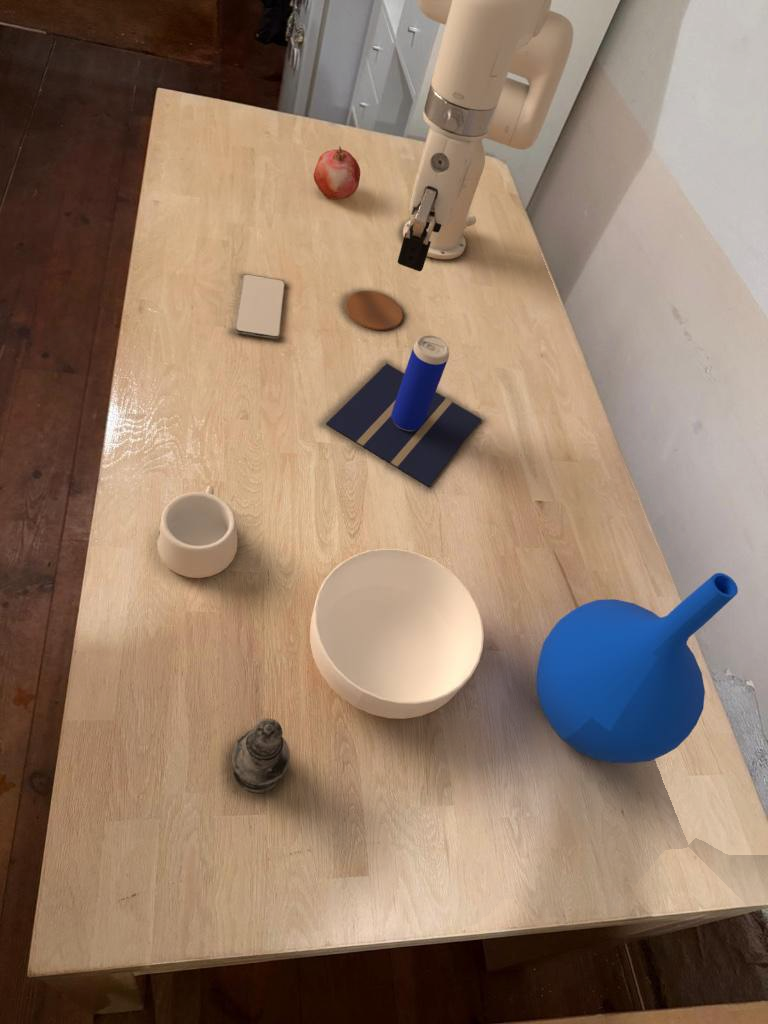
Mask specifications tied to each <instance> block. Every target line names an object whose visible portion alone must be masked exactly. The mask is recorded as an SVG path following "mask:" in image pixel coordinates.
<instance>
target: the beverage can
mask: <svg viewBox="0 0 768 1024" xmlns="http://www.w3.org/2000/svg"><path fill="white" fill-rule="evenodd" d="M449 358H450V349H449V345H448V343H447V342H446V341H445V340H443V339H442V338H441V337H439V336H436V335H432V334H425V335H422V336H420V337H419V338H418V339H417V340H416V341H415V342H414V344H413V346H412V349H411V352H410V356H409V359H408V362H407V364H406V367H405V371H404V377H403V380H402V383H401V386H400V389H399V392H398V395H397V398H396V401H395V404H394V407H393V410H392V413H391V417H392V420H393V422H394V423H395V425H396V426H397V427H398V428H400V429H402V430H405V431H414V430H417V429H419V428H421V427H422V425H423V424H424V421H425V418H426V416H427V413H428V410H429V408H430V405H431V403H432V400H433V397H434V395H435V392H436V393H437V389H438V388H439V384H440V382H441V379H442V377H443V374H444V371H445V368H446V366H447V363H448V361H449Z"/></svg>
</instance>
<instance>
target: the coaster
mask: <svg viewBox="0 0 768 1024" xmlns="http://www.w3.org/2000/svg"><path fill="white" fill-rule="evenodd" d="M345 310H346V312H347V314H348V316H349V317H350V319H351V320H352V321H354V322H355V323H356V324H358V325H360V326H361V327H364V328H365V329H369V330H374V331H389V330H392V329H395V328H397V327H398V326H399V325H400V324H401V322H402V320H403V310H402V308H401V306H400V304H399V303H398V302H397V301H395V299H393V298H392V297H390V296H388V295H387V294H384V293H382V292H379V291H374V290H373V291H372V290H361V291H360V290H359V291H357V292H354V293H352V294H351V295H350V296H349V297H348V298H347V300H346V302H345Z"/></svg>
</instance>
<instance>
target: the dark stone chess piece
mask: <svg viewBox="0 0 768 1024" xmlns="http://www.w3.org/2000/svg"><path fill="white" fill-rule="evenodd" d="M288 745H289V744H288V743H287V741H286V739H285V738H284V737H283V728H282V726H281V724H280V723H279V722H278V721H277V720H276V719H274V718H270V717H266V718H263V719H262V718H261V719H260V720H258V721H257V722H256V723H255V724H254V726H253V728H252V729H250V730H248V731H246V732H244V733H243V734H242V735H240V737H239V738H237V740H236V742H235V743H234V746H233V748H232V752H231V753H232V754H231V762H232V774H233V777H234V779H235V781H236V783H237V784H238V786H240V787H241V788H242V789H244V790H245V791H248V792H250V793H256V794H257V793H258V794H260V793H265V792H267V791H269V790H271V789H272V788H274V787H275V786H276V785H277V784H278V782H279V781H280V780H281V778H282V777H283V775H284V774H285V773H286V772H287V769H288V767H289V764H290V759H291V754H290V747H289V746H288Z"/></svg>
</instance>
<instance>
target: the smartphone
mask: <svg viewBox="0 0 768 1024" xmlns="http://www.w3.org/2000/svg"><path fill="white" fill-rule="evenodd" d="M285 284H286V282H285V281H284V280H282V279H278V278H272V277H267V276H261V275H255V274H249V273H245V274H243V277H242V283H241V289H240V296H239V303H238V309H237V316H236V322H235V327H234V331H235V332H236V333H237V334H241V335H248V336H254V337H261V338H266V339H272V340H277V339H280V332H281V321H282V314H283V313H282V312H283V303H284V296H285V295H284V294H285Z"/></svg>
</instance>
